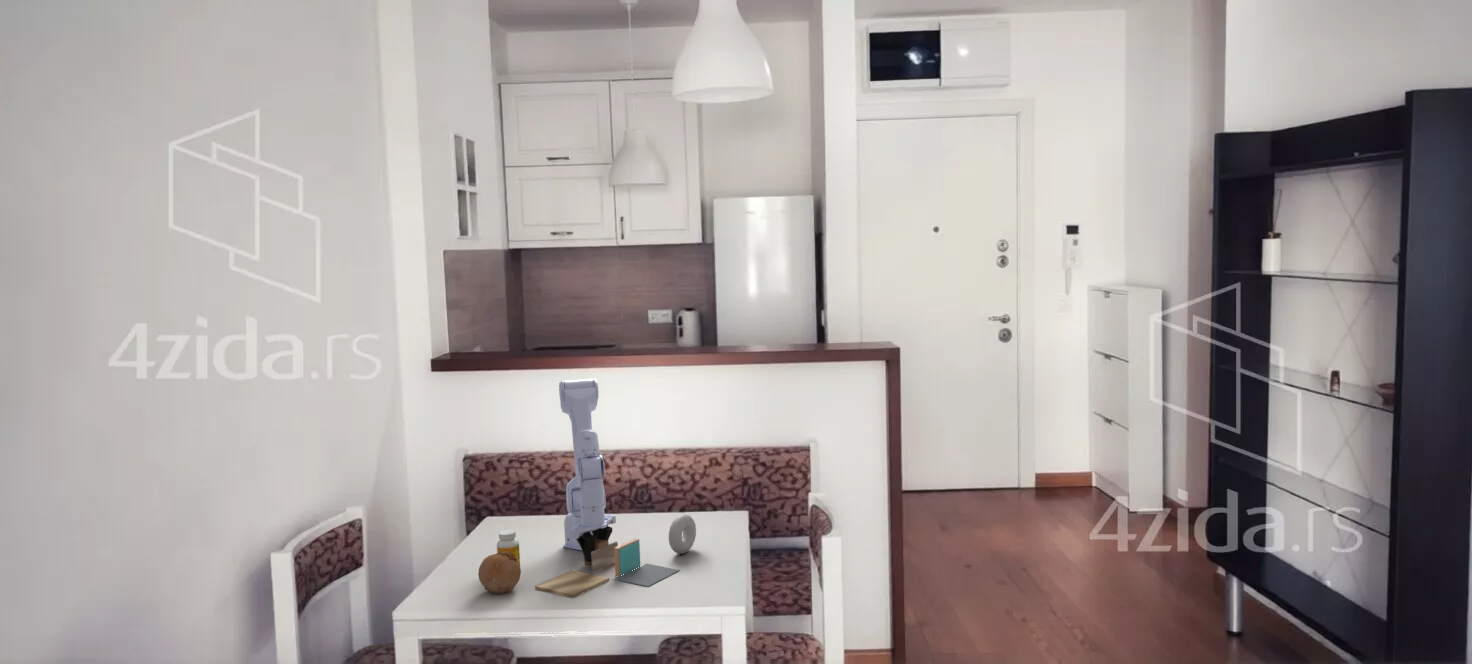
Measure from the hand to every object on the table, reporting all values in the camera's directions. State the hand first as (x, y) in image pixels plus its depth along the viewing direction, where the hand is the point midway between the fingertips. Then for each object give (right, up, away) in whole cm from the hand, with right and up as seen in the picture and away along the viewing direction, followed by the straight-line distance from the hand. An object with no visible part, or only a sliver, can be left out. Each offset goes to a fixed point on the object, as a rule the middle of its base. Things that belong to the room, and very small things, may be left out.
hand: (595, 558), depth 227 cm
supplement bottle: (-21, -3, -2) cm, 21 cm away
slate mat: (+14, -2, -9) cm, 17 cm away
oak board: (-3, -3, -13) cm, 14 cm away
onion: (-19, -4, -16) cm, 25 cm away
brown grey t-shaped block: (0, -1, 0) cm, 1 cm away
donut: (+22, 0, +6) cm, 22 cm away
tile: (+9, -2, -6) cm, 11 cm away
